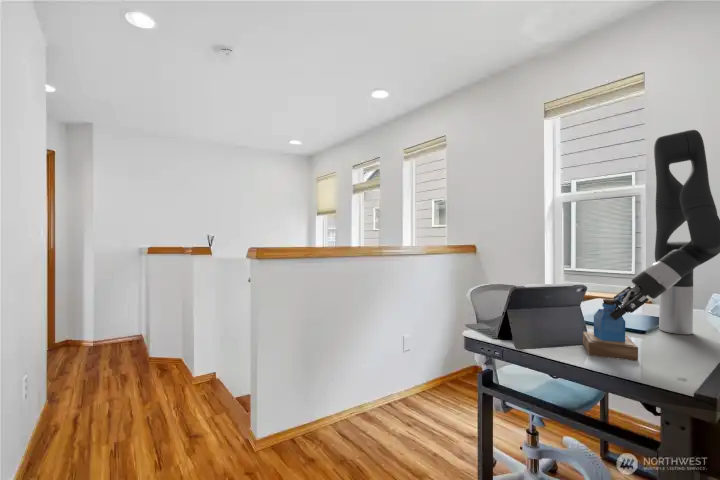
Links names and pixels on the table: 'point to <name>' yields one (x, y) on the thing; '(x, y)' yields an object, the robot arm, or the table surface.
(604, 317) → the perfume bottle
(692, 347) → the table surface
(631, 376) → the table surface
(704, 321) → the table surface
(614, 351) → the block
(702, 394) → the table surface
